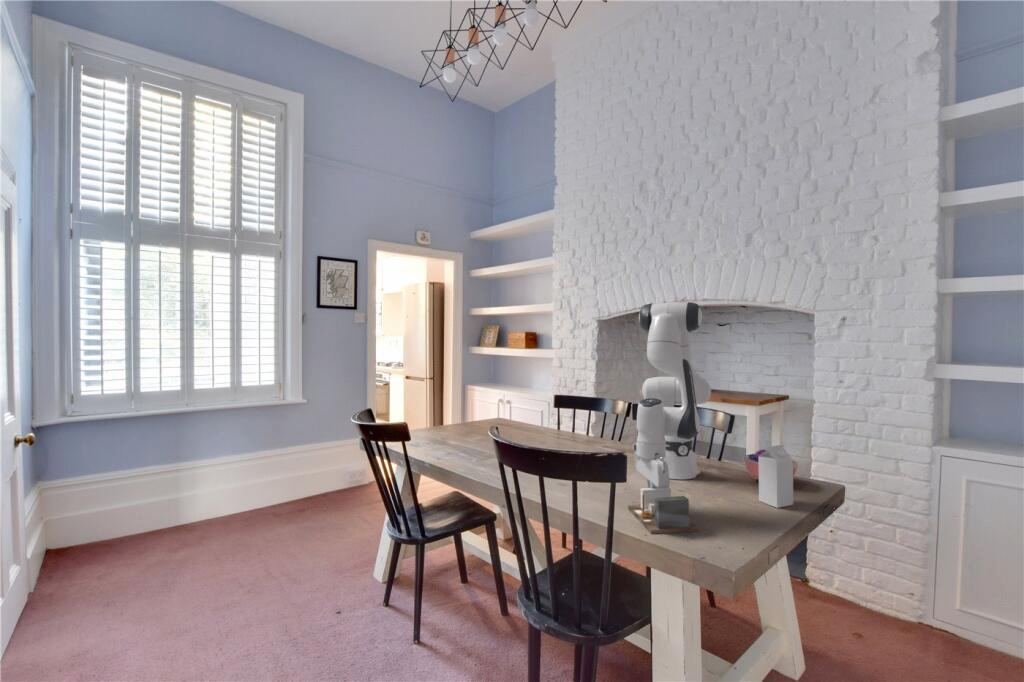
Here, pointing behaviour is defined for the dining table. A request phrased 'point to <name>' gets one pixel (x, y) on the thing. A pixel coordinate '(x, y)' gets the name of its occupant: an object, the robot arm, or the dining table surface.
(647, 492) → the white bent piece
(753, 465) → the cell model
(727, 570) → the dining table surface
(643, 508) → the peak needle
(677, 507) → the gauge base
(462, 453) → the dining table surface
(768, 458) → the milk carton
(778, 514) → the dining table surface
